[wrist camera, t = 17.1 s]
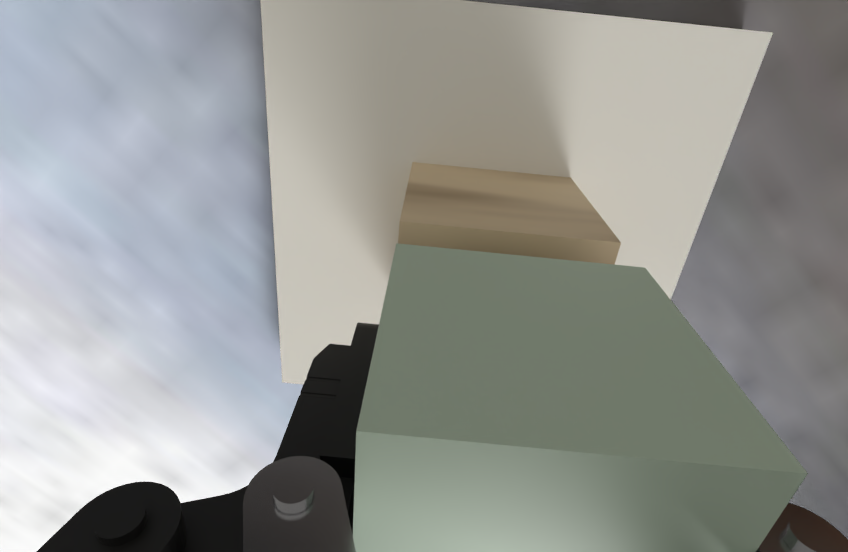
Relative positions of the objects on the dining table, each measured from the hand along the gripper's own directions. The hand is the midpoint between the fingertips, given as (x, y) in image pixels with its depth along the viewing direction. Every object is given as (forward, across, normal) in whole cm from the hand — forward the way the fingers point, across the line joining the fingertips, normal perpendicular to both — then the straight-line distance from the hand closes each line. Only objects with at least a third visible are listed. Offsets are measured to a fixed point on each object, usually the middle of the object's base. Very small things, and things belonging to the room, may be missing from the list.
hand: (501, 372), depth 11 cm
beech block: (+7, 0, 0) cm, 7 cm away
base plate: (+8, 0, 0) cm, 8 cm away
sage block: (0, 0, 0) cm, 0 cm away
